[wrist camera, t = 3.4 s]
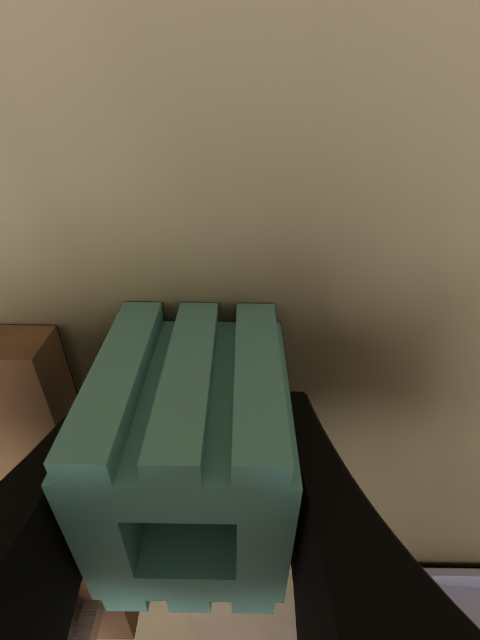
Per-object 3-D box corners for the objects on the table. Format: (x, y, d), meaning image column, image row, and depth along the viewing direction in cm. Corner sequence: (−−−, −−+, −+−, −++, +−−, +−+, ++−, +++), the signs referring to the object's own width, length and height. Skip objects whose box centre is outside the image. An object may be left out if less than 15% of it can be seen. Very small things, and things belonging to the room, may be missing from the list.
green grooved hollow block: (281, 303, 10) (306, 467, 6) (270, 442, 14) (281, 613, 9) (116, 301, 10) (30, 463, 6) (142, 440, 14) (98, 610, 9)
